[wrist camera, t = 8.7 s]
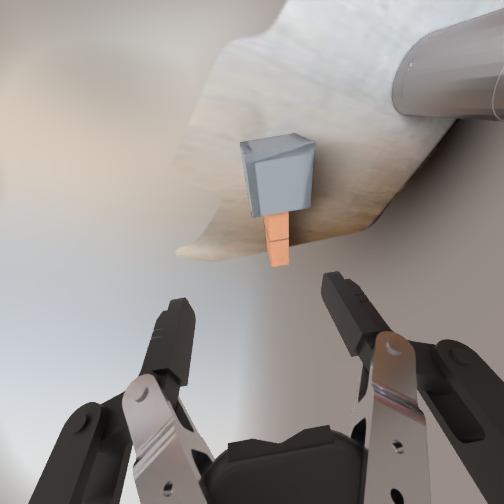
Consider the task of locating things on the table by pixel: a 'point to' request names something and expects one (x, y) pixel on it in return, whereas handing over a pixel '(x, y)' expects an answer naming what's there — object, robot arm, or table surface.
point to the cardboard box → (277, 238)
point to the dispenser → (278, 173)
